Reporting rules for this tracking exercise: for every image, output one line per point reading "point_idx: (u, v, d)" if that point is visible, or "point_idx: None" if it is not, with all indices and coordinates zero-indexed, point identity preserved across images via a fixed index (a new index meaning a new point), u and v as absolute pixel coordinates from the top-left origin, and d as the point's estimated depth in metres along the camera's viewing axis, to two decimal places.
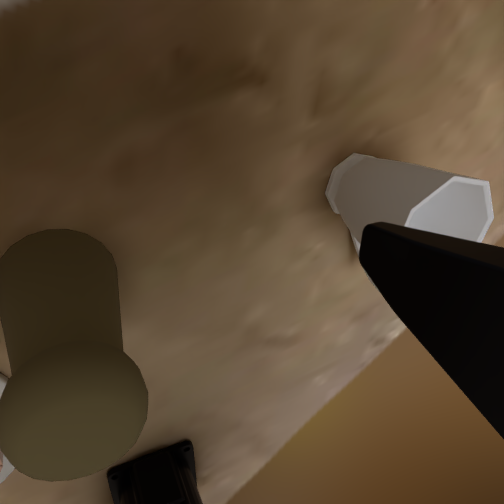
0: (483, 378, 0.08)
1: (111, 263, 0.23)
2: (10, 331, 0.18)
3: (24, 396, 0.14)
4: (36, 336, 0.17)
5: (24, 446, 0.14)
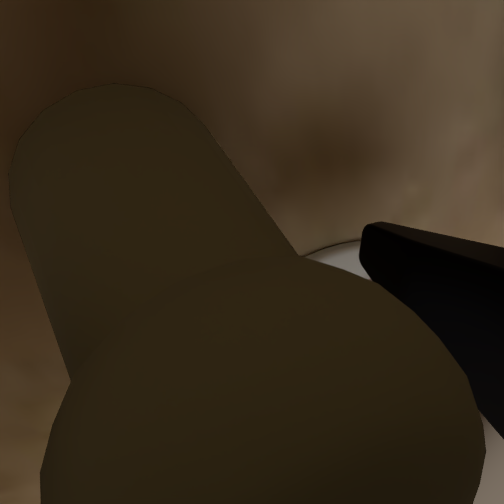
0: (483, 378, 0.08)
1: (79, 106, 0.10)
2: None
3: None
4: None
5: None
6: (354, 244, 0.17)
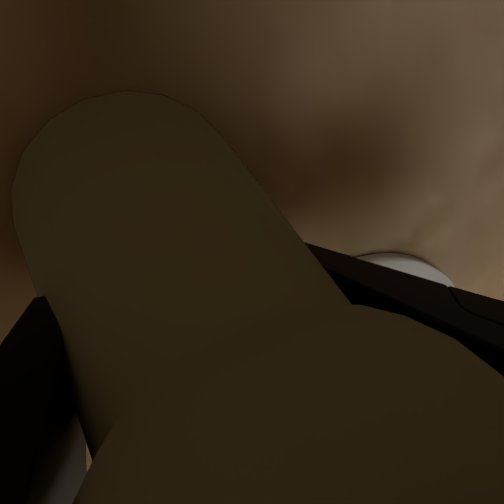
0: None
1: (88, 116, 0.09)
2: None
3: None
4: None
5: None
6: (374, 256, 0.17)
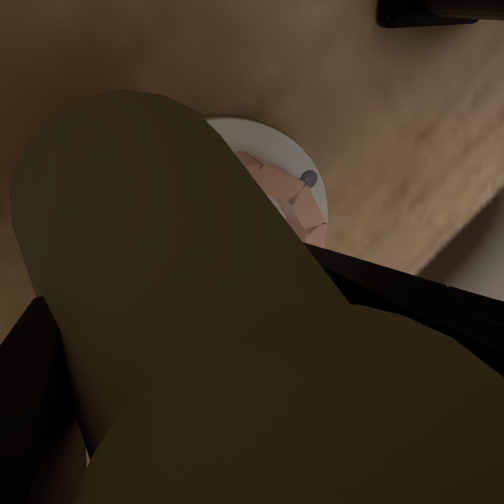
0: None
1: (87, 115, 0.09)
2: None
3: None
4: None
5: None
6: (221, 117, 0.20)
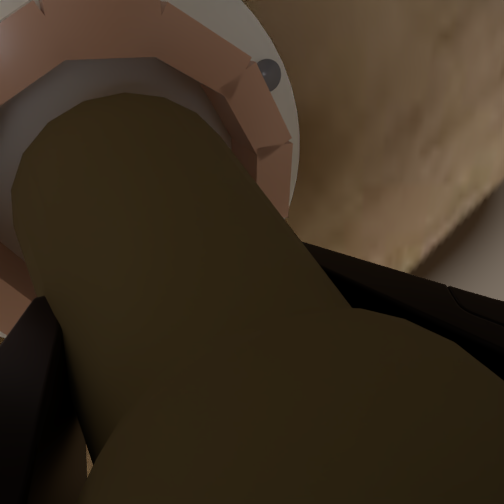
0: None
1: (88, 118, 0.09)
2: None
3: None
4: None
5: None
6: None
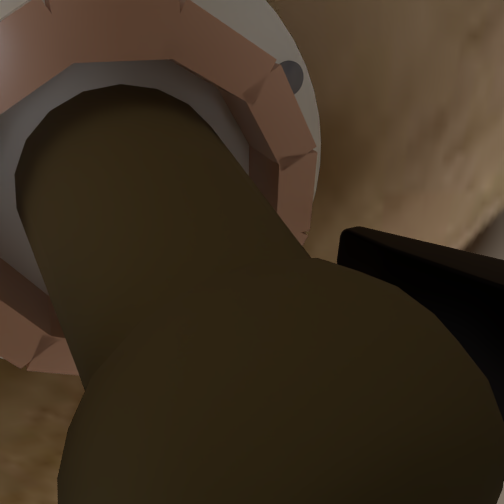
0: None
1: (87, 106, 0.10)
2: None
3: None
4: None
5: None
6: None
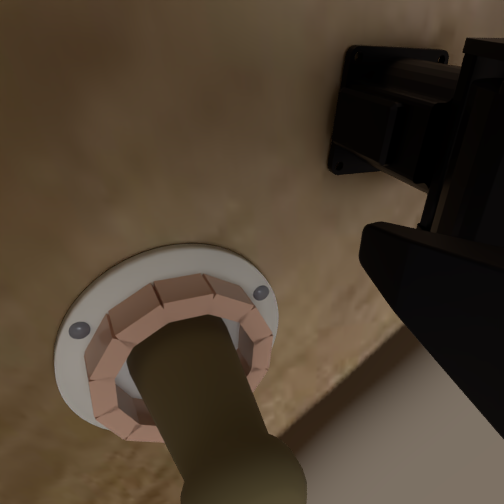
0: (483, 378, 0.08)
1: (167, 326, 0.22)
2: None
3: None
4: None
5: None
6: (184, 245, 0.22)
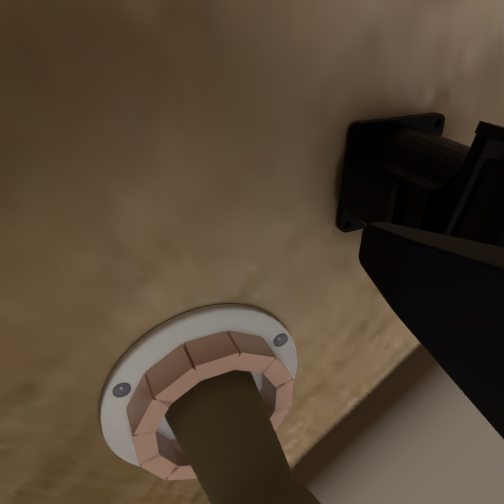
0: (483, 378, 0.08)
1: None
2: None
3: None
4: None
5: None
6: (209, 307, 0.25)
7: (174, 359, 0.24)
